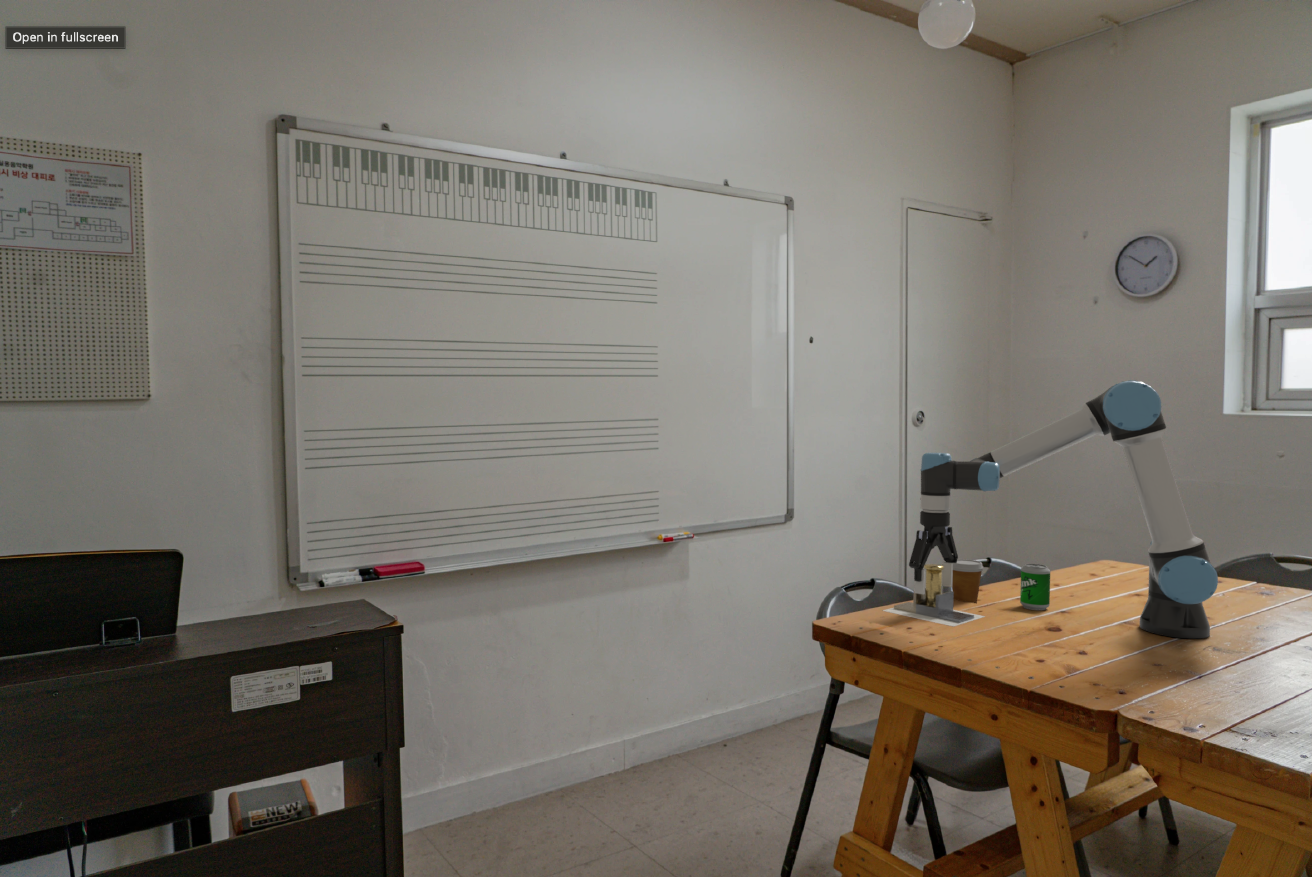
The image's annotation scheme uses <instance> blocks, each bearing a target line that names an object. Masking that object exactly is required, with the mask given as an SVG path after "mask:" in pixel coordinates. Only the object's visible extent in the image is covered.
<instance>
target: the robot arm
mask: <svg viewBox="0 0 1312 877" xmlns="http://www.w3.org/2000/svg"><path fill="white" fill-rule="evenodd" d="M1167 430H1168V428H1167V426H1166V423H1165V419H1164V416H1163V413H1162V400H1161V397H1160V395H1159V393H1158V392H1157V391H1156V390H1155V389H1154V388H1153V387H1152V386H1151V385H1149V384H1147V383H1145V382H1143V381H1140V380H1139V381H1138V380H1131V379H1130V380H1126V381H1121V382H1118V383H1115V384H1114V385H1112V386H1111V387H1109V388H1108V389H1106V390H1105V391H1104V392H1102V393H1101V394H1099V395H1098V396H1096V397H1094V398H1093V399H1091V400H1089V401H1087V402H1084V403H1083V406H1082V408H1081V409H1078V410H1076V411H1074V412H1072V413H1070V414H1068V415H1066V416H1064V417H1062V418H1060V419H1058V420H1055V421H1053V422H1051V423H1050V424H1047V425H1044V426H1043V427H1041V428H1038V429H1036V430H1034V431H1032V432H1030V433H1028V434H1026V435H1023V436H1021V437H1020V438H1017V439H1015V440H1013V441H1011V442H1009V443H1006V444H1005V445H1002V446H1000V447H998V448H996V449H993V450H992V451H990V452H988V453H986V454H985V453H984V454H983V455H981V456H978V457H975V458H973V459H971V460H970V461H968V460H967V461H964V460H963V461H957V460H953V459H952V455H951V454H950V453H949V452H948V453H947V452H926V453H924V454H923V455H921V466H920V509H921V511H920V512H919V524H920V525H922V526H923V527H924V528H923V530H917V531H916V533H915V534H916V535H915V541H914V545H913V549H912V552H911V555H910V559H909V563H908V566H909V567H910V568H911V569H914V570H913V571H914V572H913V573H914V574H913V575H914V576H913V577H914V578H913V579H914V582H913V587H914V589H913V593H918V594H925V588H926V569H925V568H924V565H925V564H927V561H928V558H929V556H930V554H931V551H932V550H933V549H935V547H937V548H938V550H939V552H940V554H941V557H942V559H943V560H944V561H942V563H941V565H943V566H944V570H942V587H946V588H952V581H953V563H957V559H959V555H958V551H957V547H956V544H955V543H956V542H955V540H954V536H953V527H952V526H950V524H951V523H950V522H951V513H950V512H949V511H950V510H951V490H965V491H979V492H981V491H982V492H991V491H992V492H996V491H998V490H999V489H1000V480H1001V478H1004V477H1006V476H1008V475H1011V474H1012V473H1014V472H1017V471H1019V470H1021V469H1024V468H1026V467H1028V466H1030V465H1033V464H1035V463H1037V462H1039V461H1041V460H1044V459H1045V458H1049V457H1050V456H1052V455H1054V454H1057V453H1059V452H1061V451H1064V450H1066V449H1068V448H1070V447H1072V446H1075V445H1077V444H1079V443H1082V442H1083V441H1086V440H1088V439H1090V438H1093V437H1095V436H1101V437H1104V436H1106V435H1109V434H1110V436H1111V439H1112V443H1114V444H1116V445H1118V446H1120V447H1121V448H1122V451H1123V454H1124V457H1125V460H1126V463H1127V465H1128V469H1129V472H1130V476H1131V479H1132V482H1133V485H1134V488H1135V492H1136V495H1137V497H1138V501H1139V504H1140V506H1141V507H1140V508H1141V510H1142V513H1143V517H1144V520H1145V522H1146V526H1147V529H1148V532H1149V536H1150V538H1151V542H1150V544H1149V547H1148V549H1147V553H1148V555H1149V556H1148V557H1149V562H1148V588H1147V590H1148V593H1147V595H1148V596H1147V600H1146V602H1145V605H1144V608H1143V610H1142V612H1141V615H1140V617H1139V628H1140V629H1142V630H1144V631H1146V632H1149V633H1151V634H1155V635H1160V636H1165V637H1170V638H1171V637H1172V638H1180V639H1195V640H1196V639H1204V638H1209V636H1210V635H1211V626H1210V623H1209V620H1208V616H1207V614H1206V611H1205V608H1204V604H1203V602H1206V601H1207V600H1209V599H1210V598H1212V596H1213V595H1214V594H1215V593H1216V590H1217V589H1218V585H1219V579H1218V578H1219V576H1218V572H1217V570H1216V569H1215V568H1214V566H1213V564H1211V561H1210V559H1209V555H1208V552H1207V549H1206V545H1205V542H1204V540H1203V539H1201V538H1200V537H1197V536H1196V535H1194V533H1193V530H1192V526H1191V524H1190V520H1189V517H1188V515H1187V511H1186V509H1185V505H1184V503H1183V498H1182V496H1181V493H1180V489H1179V486H1178V484H1177V481H1176V477H1175V473H1174V470H1173V468H1172V465H1171V462H1170V459H1169V456H1168V452H1167V449H1166V447H1165V443H1164V441H1163V436H1164V434H1165V433H1166V431H1167Z"/></svg>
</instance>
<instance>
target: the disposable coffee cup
mask: <svg viewBox="0 0 1312 877" xmlns="http://www.w3.org/2000/svg"><path fill="white" fill-rule="evenodd" d="M983 569H984V566H983V563H982V562H981V561H980V560H976V559H975V560H974V559H966V558H965V559H964V558H958V559H957V563H953V581H952V587H951V591H953V592H954V596H953V600H956V601H959V602H966V603H970V604H971V603H972V604H977V603H978V598H979V591H980V584H981V579H982V573H983V572H982V571H983Z"/></svg>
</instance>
